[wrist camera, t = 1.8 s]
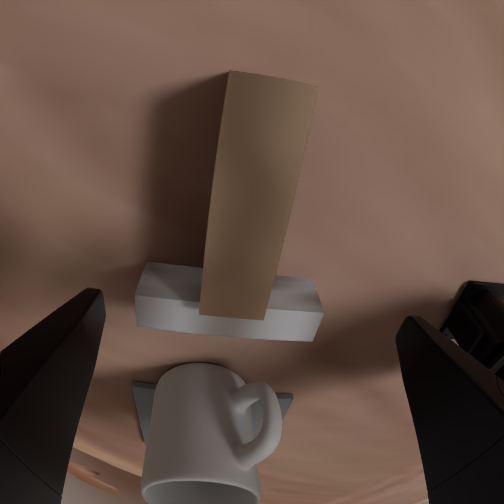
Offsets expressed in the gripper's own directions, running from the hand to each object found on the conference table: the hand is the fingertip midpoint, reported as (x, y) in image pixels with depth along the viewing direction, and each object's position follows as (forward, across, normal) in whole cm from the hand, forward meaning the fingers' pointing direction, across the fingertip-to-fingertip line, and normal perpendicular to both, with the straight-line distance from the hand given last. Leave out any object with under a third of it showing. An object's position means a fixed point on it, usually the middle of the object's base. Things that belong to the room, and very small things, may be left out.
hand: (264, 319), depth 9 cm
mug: (+11, 0, +18) cm, 21 cm away
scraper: (+11, 0, +1) cm, 11 cm away
